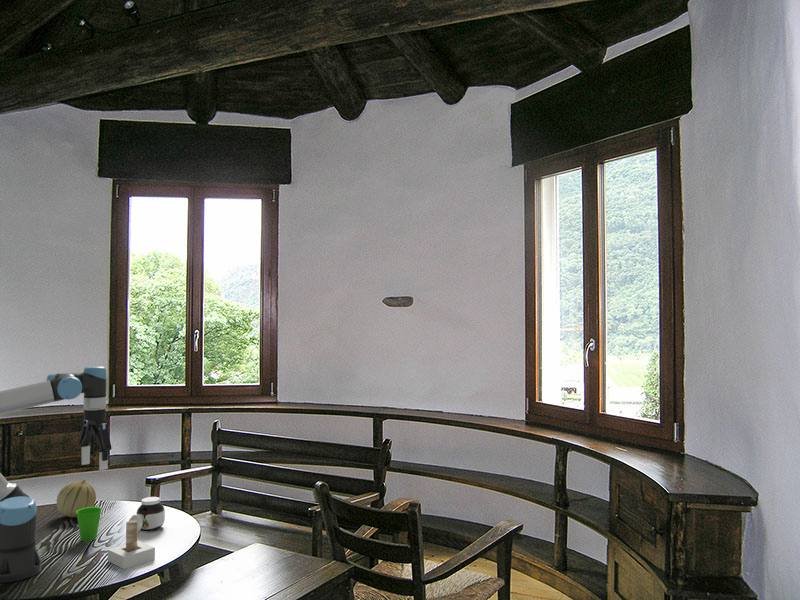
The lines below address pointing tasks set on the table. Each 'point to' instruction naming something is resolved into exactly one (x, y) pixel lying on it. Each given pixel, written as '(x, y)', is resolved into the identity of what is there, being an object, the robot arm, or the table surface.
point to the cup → (88, 522)
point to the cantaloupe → (75, 497)
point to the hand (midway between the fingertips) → (94, 466)
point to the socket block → (131, 555)
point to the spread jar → (149, 514)
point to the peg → (131, 535)
